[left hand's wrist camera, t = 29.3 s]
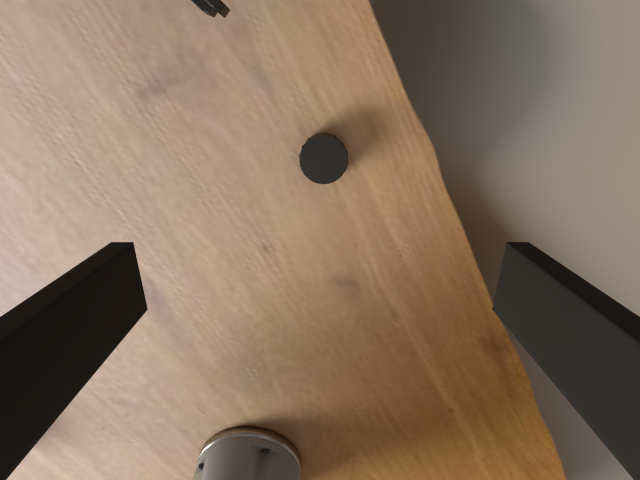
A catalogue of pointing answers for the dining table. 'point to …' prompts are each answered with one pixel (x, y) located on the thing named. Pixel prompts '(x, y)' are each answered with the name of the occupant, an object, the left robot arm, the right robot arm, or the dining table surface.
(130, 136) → the dining table surface
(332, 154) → the lid
